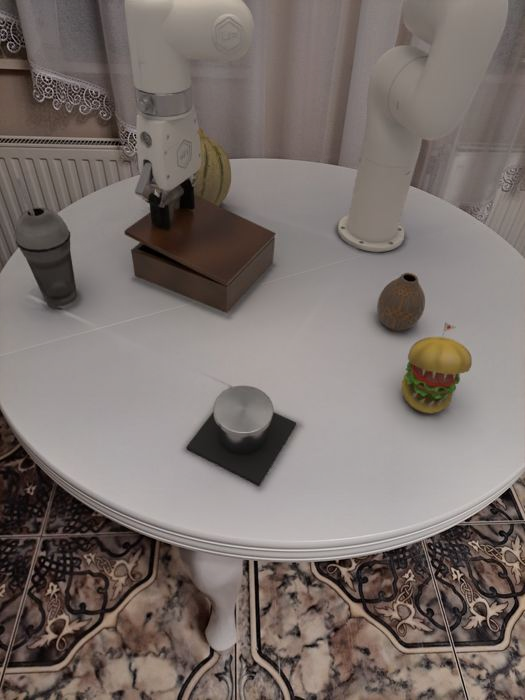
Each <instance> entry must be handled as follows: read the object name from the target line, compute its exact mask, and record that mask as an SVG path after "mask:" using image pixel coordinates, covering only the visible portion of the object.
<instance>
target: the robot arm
mask: <svg viewBox="0 0 525 700" xmlns="http://www.w3.org/2000/svg"><path fill="white" fill-rule="evenodd" d="M245 1H246V0H124V13H125V14H124V15H125V22H126V23H125V24H126V29H127V30H126V31H127V39H128V46H129V55H130V56H129V57H130V63H131V72H132V78H133V86H134V96H135V107H136V108H135V109H136V111H137V114H136V122H135V123H136V125H135V127H136V129H135V130H136V131H135V134H136V135H135V136H136V139H135V140H136V141H135V142H136V155H137V157H136V159H137V165H138V173H139V178H138V181H137V183H136V187H135V190H134V194H135V195H136V196H137V197H139V198H141V199H142V200H143V201H145V202H146V203H147V204H149V213H150V212H151V221H152V224H153V225H155V226H158V227H161V228H164V229H167V230H168V229H169V228H170V227H171V225H170V214H169V206H168V205H166V198H167V191H170V190H172V189H174V188H175V187H177V186H178V185H180V186H181V187H182V188H183V190H184V194H183V195H182V196H181V197H180V206H181V207H184V208H187V209H190V210H193V209H194V208H195V201H194V187H193V186H192V185H194V184H195V182H196V179H195V174H196V172H197V171H198V170H199V169H200V167H201V146H200V136H199V128H200V127H199V122H198V117H197V112H196V108H195V105H194V103H193V92H192V73H191V71H192V70H191V60H196V61H204V62H211V63H221V64H223V63H232V62H235V61H237V60H239V59H241V58H243V57H244V56H245V55H246V54H247V53H248V52H249V50H250V48H251V47H252V45H253V42H254V40H255V39H254V38H255V34H256V33H255V32H256V31H255V30H256V25H255V21H254V17H253V14H252V12H251V10H250V8H249V7H248V6H247V4H246V3H245ZM508 13H509V0H403V2H402V9H401V18H402V22H403V25H404V26H405V28H406V30H408V31H409V32H410V33H411V34H412V35H413V36H415V37H417V39H420V40H421V41H422V42H424V43H427V44H428V45H430V46H431V47H430V50H429V53H428V52H426V51H425V50H423V49H422V48H418V47H416V46H413V45H406V44H405V45H398V46H397V45H396V46H394V47H392V48H390V49H388V50H387V51H385V52H384V53H383V54H382V55H381V56H380V57H379V58H378V59H377V61H376V63H375V64H374V66H373V68H372V70H371V73H370V76H369V80H368V86H367V103H366V104H367V105H366V123H365V130H364V135H363V139H362V144H361V145H362V146H361V150H360V155H359V160H358V165H357V171H356V175H355V180H354V185H353V191H352V195H351V200H350V206H349V211H348V213H347V214H346V215H344V216H342V217H341V219H340V220H339V221H338V224H337V233H338V235H339V237H340V238H341V239H342V241H344V242H345V243H347V244H348V245H349V246H351V247H353V248H355V249H358V250H362V251H365V252H374V253H381V252H389V251H391V250H395V249H397V248H399V247H400V246H401V245H402V243H403V241H404V238H405V235H406V234H405V229H404V228H403V226H402V225H401V223H400V222H401V218H402V215H403V212H404V207H405V205H406V201H407V197H408V193H409V190H410V187H411V183H412V179H413V175H414V172H415V169H416V165H417V162H418V159H419V155H420V152H421V148H422V140H425V141H437V140H440V139H443V138H445V137H446V136H448V135H449V134H452V132H453V131H454V130H455V129H456V128H457V127H458V126H459V125H460V124H461V122H462V121H463V119H464V118H465V116H466V115H467V113H468V111H469V109H470V107H471V105H472V103H473V101H474V99H475V97H476V94H477V92H478V90H479V88H480V86H481V84H482V82H483V79H484V77H485V75H486V72H487V70H488V68H489V65H490V63H491V61H492V59H493V57H494V55H495V53H496V50H497V48H498V45H499V44H500V41H501V38H502V36H503V34H504V30H505V29H506V24H507V20H508ZM155 181H156V182H155ZM155 188H157V189H160V194H159V195H157V194H156V193H155V192H156V190H155Z"/></svg>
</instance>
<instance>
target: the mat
mask: <svg viewBox="0 0 525 700" xmlns="http://www.w3.org/2000/svg"><path fill="white" fill-rule="evenodd" d="M296 426H297V421H294V420H292V419H289V418H288V417H285V416H283V415H281V414H278V413H276V412H274V411H273V418H272V421H271V423H270V425H269V426H268V435H267V440H266V443H265V444H264V446H263V447H262V448H261V449H260V450H259V451H257V452H255V453H253V454H250V455H235V454H232V453H230V452H228V451H226V450H225V449H224V448H223V447H222V446H221V445H220V443H219V441H218V437H217V423H216V421H215V419H214V412H213V411H212V412H211V414H210V415H209V417H208V418H207V419H206V421H205V422H204V423H203V425H202V426H201V427H200V428H199V430H198V431H197V432H196V433H195V435H194V436H193V437H192V439H191V440H190V441H189V442H188V444H187V445H186V450H187V451H189V452H192V453H193V454H195V455H197V456H199V457H202V458H203V459H205V460H206V461H209V462H210V463H213V464H215V465H216V466H219V467H220V468H223V469H224V470H227V471H229V472H230V473H232V474H234V475H236V476H238V477H240V478H242V479H244V480H246V481H248V482H249V483H251V484H254V485H256V486H258V487H259V486H260V485H262V482H263V481H264V479H265V477H266V476H267V474H268V472H269V471H270V469H271V468H272V465H273V464H274V463H275V461H276V459H277V457H278V456H279V454H280V453H281V451H282V449H283V448H284V446H285V445H286V443H287V441H288V439H289V438H290V436H291V434H292V433H293V432H294V429H295V428H296Z"/></svg>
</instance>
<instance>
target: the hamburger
mask: <svg viewBox="0 0 525 700" xmlns="http://www.w3.org/2000/svg"><path fill="white" fill-rule="evenodd" d="M456 328H457V327H456V326H454V325H452V324H450V323H448V322H447V321H445V322H444V327H443V332H442V335H441V336H428V337H424V338H421V339H420V340H417V341H416V342H414V343H413V344H412V346H411V347H410V349H409V352H408V355H407V360H408V362H407V365H406V368H405V371H406V373H405V374H404V376H403V379H402V381H401V391H402V395H403V398H404V400H405V402H407V404H408V405H409V406H410V407H411V408H412V409H414V410H416V411H418V412H421V413H425V414H436V413H438V412H441V411H443V410H444V409H446V408H448V407H449V405H450V403H451V402H452V398H453V396H454V395H453V394H454V392H455V391H456V389H457V386H456V385H458V384H460V382H461V378H460V377H461V376H460V375H461V374H465V373H468V372H469V371H470V369H471V367H472V365H473V363H472V361H473V359H472V355H471V353H470V350H469V349H467V347H466V346H465V344H462V343H460V342H459V341H457V340H454V339H453V338H449V337H445V336H444V334H445V332H447V331H450V330H453V329H456Z"/></svg>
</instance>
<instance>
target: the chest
mask: <svg viewBox="0 0 525 700" xmlns="http://www.w3.org/2000/svg"><path fill="white" fill-rule="evenodd" d="M275 237H276V236H275ZM275 237H274V238H273V239H272V240H271V241H270V242H269V243H268V244H267V245H266V246H265V247H264V249H263V250H262V251H261V252H260V253H259V254H258V255H257V256H256V257H255V258H254V259H253V260H252V261H251V262H250V263H249V264H248V265H247V266H246V267H245V268H244V269H243V270H242V271H241V272H240V273H239V274H238V275H237V276H236V277H235V278H234V279H233V281H232V282H231V283H230V284H229V285H228V286H225V285H223V284H221V283H219V282H217V281H215V280H213V279H211V278H209V277H207V276H205V275H203V274H201V273H199V272H197V271H195V270H193V269H191V268H189V267H187V266H185V265H184V264H182V263H180V262H178V261H176V260H174V259H172V258H170V257H168V256H166V255H164V254H162V253H160V252H158V251H156V250H154V249H152V248H150V247H148V246H146V245H144V244H142V243H140V242H138V244H136V245H135V246H134V247H133V248H131V249H130V253H131V260H132V267H133V273H134V276H135V277H136V278H139V279H142V280H144V281H146V282H149V283H151V284H154V285H157V286H159V287H161V288H164V289H166V290H168V291H171V292H174V293H176V294H179V295H181V296H184V297H186V298H188V299H191V300H194V301H196V302H198V303H201V304H203V305H206V306H208V307H211V308H214V309H216V310H219V311H221V312H223V313H225V314H227V313H228V312H229V311H230V310H231V309H232V308H233V307H234V306H235V305H236V304H237V303H238V302H239V300H240V299H242V297H243V296H244V295H245V294H246V293H247V291H249V289H250V288H251V287H252V286H253V285H254V284H255V283H256V282H257V281H258V280H259V278H261V276H262V275H263V274H264V273H265V272H266V271H267V270H268V269H269V267H271V265H272V264H273V263H274V255H275V244H276V243H275V242H276V238H275Z"/></svg>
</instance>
